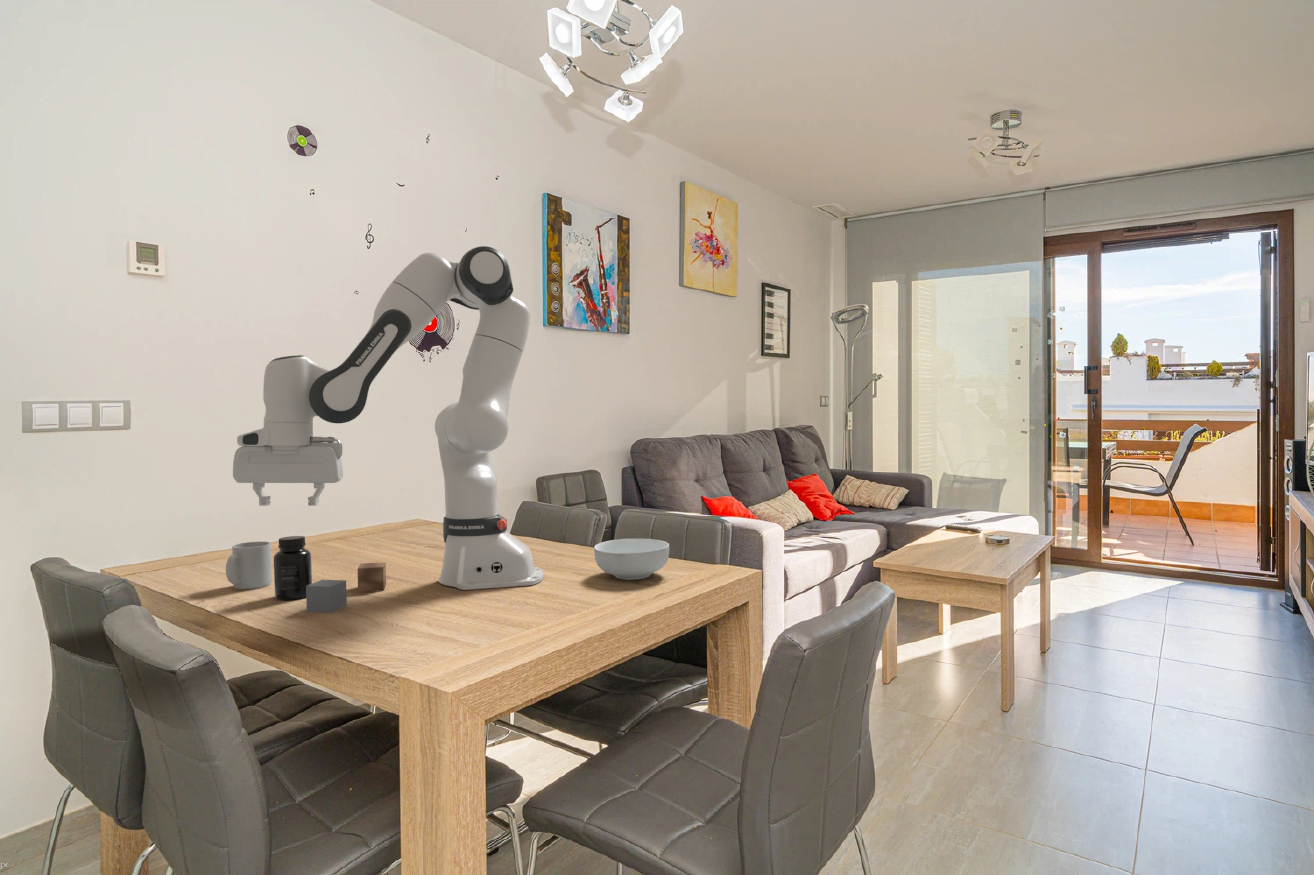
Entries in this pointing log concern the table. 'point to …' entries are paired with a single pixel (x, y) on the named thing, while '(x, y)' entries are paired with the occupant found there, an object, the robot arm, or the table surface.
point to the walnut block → (371, 577)
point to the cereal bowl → (631, 557)
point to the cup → (250, 565)
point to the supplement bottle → (292, 568)
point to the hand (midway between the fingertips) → (289, 505)
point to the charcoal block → (326, 596)
